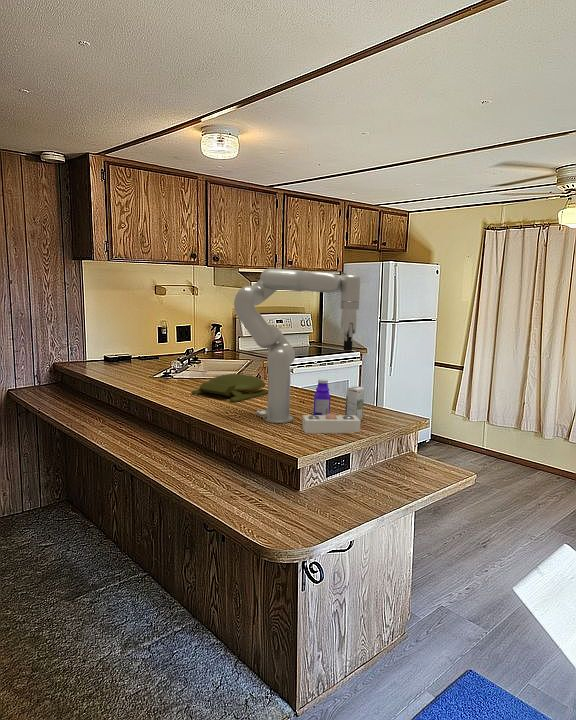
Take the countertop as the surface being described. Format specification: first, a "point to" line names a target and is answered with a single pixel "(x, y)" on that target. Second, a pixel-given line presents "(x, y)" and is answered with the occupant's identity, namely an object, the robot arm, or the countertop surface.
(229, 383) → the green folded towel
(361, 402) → the syrup box
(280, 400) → the robot arm
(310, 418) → the left grey plug
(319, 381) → the bottle
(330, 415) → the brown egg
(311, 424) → the block
